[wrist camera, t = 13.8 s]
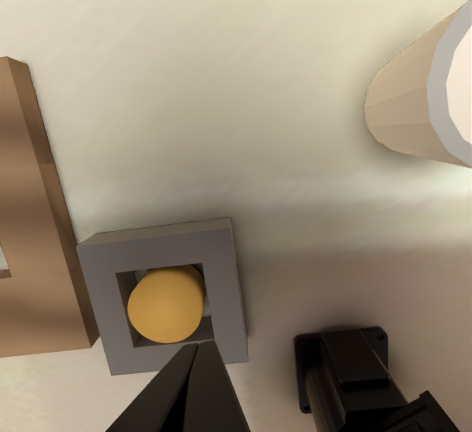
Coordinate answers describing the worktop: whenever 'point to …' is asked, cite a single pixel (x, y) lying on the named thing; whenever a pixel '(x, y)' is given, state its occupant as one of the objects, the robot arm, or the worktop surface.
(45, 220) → the brown wooden rectangular frame
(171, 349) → the button collar
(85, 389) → the worktop surface
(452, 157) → the white cup
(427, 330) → the worktop surface
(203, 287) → the button
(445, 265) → the worktop surface
